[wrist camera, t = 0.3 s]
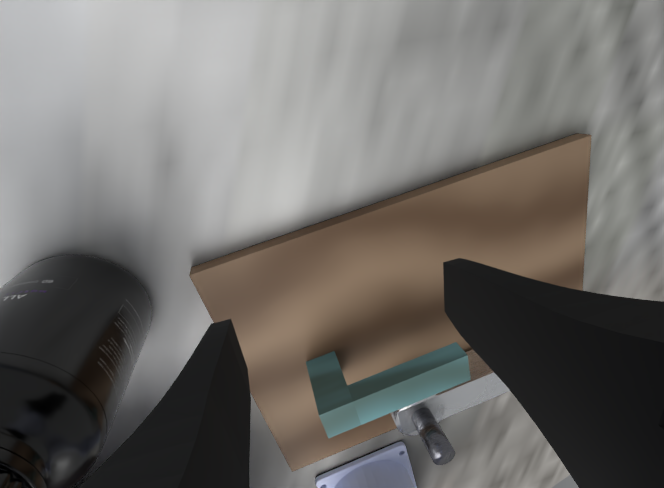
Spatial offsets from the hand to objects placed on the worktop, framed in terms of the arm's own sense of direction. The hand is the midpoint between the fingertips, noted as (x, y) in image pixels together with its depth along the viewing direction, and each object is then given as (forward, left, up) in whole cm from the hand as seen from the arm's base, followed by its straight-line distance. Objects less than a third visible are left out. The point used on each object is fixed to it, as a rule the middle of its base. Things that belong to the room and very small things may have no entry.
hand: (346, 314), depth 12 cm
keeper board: (-10, -6, -10) cm, 15 cm away
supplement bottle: (-1, +13, -10) cm, 16 cm away
